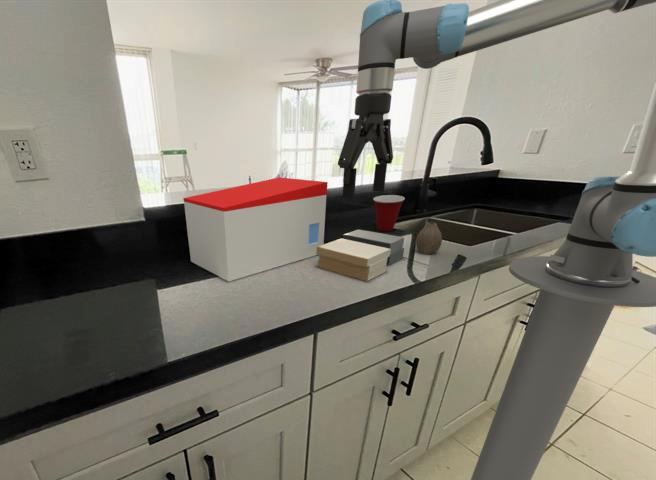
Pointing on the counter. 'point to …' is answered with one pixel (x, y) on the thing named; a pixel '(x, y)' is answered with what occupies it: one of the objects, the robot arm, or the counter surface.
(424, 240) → the vase
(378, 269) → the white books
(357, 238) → the grey books
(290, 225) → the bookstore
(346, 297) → the counter surface
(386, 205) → the plastic cup
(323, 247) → the beige flat rectangular block
